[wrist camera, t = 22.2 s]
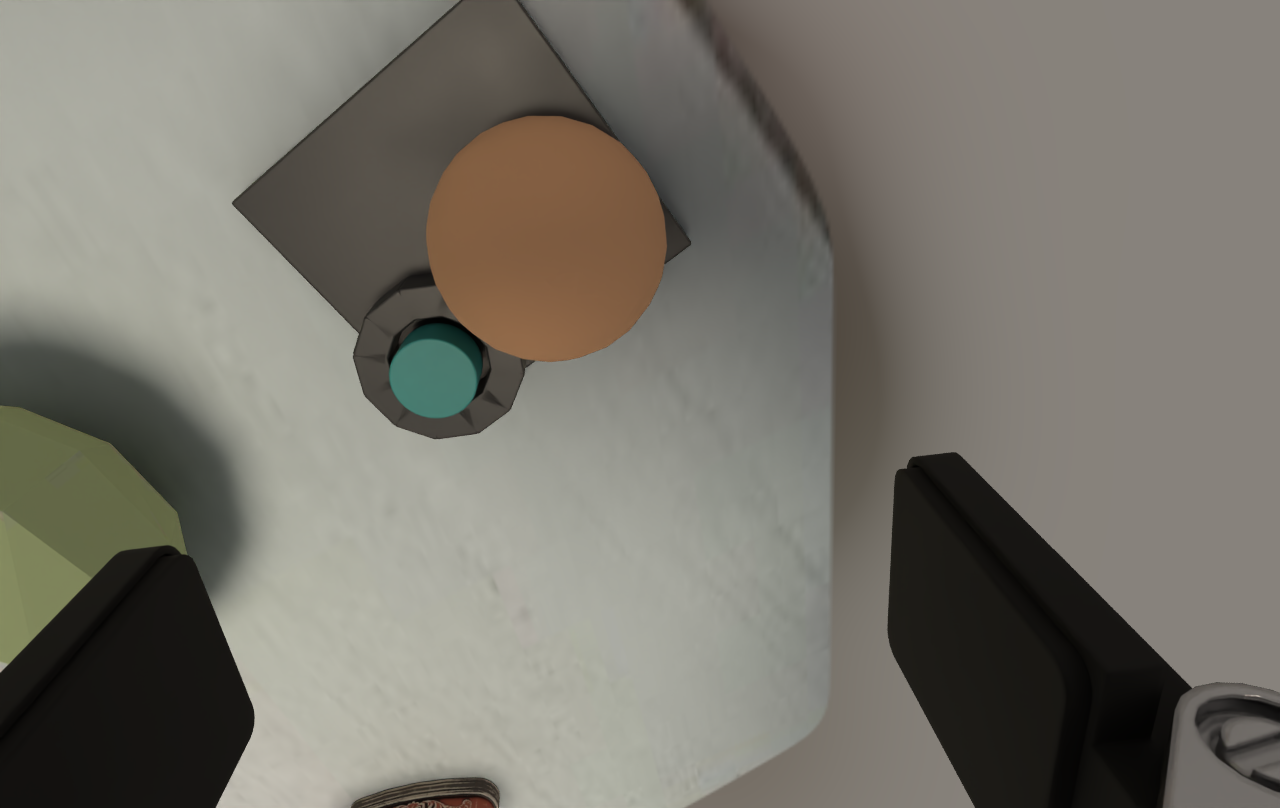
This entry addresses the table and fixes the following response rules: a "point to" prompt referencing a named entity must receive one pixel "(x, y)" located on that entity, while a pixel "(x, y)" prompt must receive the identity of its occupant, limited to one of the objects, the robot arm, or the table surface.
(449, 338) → the tare button
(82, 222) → the table surface
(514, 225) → the egg
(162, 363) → the table surface
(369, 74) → the table surface
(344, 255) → the dark grey flat block
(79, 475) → the decorative sphere
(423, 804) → the lighter
